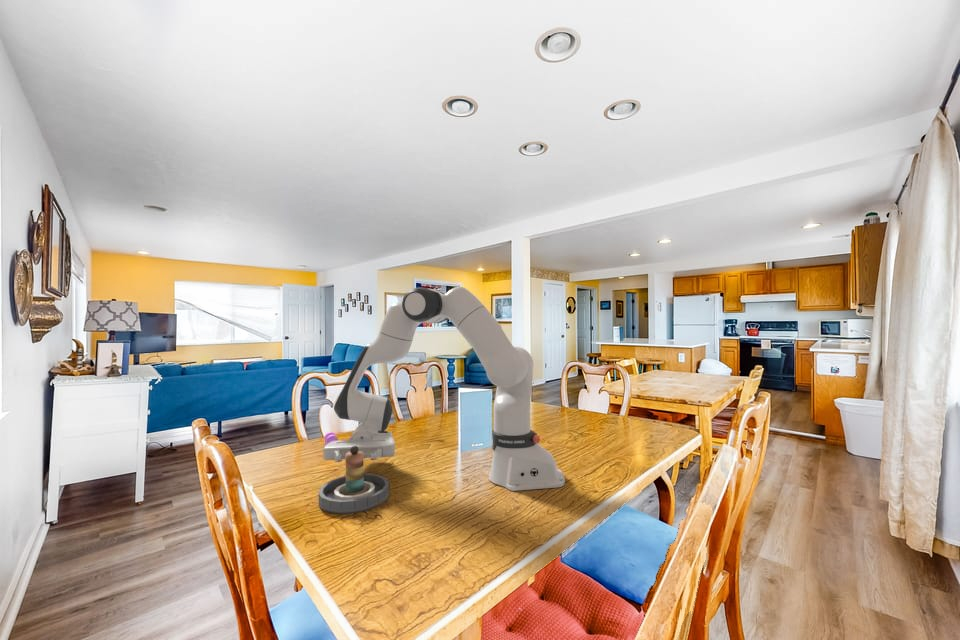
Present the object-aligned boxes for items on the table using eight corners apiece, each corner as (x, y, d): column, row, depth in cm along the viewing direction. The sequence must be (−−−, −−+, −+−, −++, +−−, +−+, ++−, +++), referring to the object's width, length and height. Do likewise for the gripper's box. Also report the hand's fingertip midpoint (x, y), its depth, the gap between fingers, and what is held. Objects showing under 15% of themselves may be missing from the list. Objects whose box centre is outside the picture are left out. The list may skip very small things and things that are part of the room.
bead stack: (369, 489, 109) (368, 442, 109) (362, 498, 103) (361, 449, 103) (348, 489, 109) (347, 442, 109) (339, 498, 103) (338, 449, 103)
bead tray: (396, 484, 115) (396, 473, 115) (377, 514, 97) (377, 502, 97) (335, 483, 116) (335, 473, 116) (305, 513, 98) (305, 501, 98)
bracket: (326, 456, 140) (326, 436, 140) (324, 451, 145) (324, 432, 145) (364, 450, 146) (364, 431, 146) (361, 445, 151) (360, 427, 151)
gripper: (328, 434, 121) (316, 448, 108) (396, 431, 124) (393, 444, 111) (328, 454, 121) (316, 471, 108) (396, 451, 124) (393, 467, 111)
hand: (356, 458), depth 109 cm, fingers open, 8 cm apart
